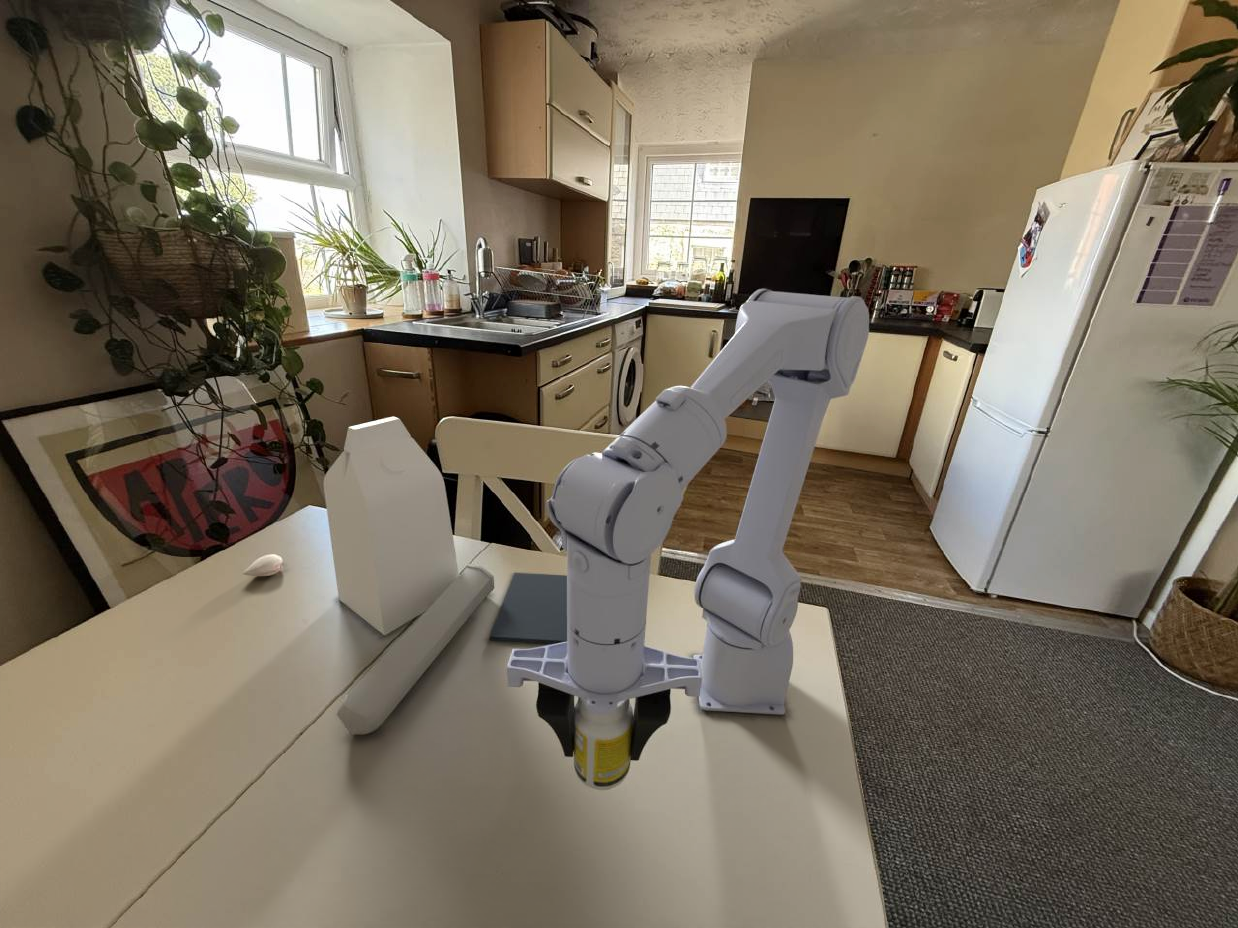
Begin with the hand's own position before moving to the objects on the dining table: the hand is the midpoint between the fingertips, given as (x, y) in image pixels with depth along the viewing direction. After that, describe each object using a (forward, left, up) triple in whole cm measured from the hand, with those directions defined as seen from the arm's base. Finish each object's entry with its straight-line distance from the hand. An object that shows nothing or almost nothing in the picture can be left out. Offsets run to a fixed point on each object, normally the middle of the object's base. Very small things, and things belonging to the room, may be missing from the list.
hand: (601, 747), depth 41 cm
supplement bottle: (0, 0, -2) cm, 2 cm away
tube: (+22, -18, -9) cm, 30 cm away
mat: (+9, -28, -9) cm, 30 cm away
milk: (+31, -29, -9) cm, 43 cm away
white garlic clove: (+53, -32, -9) cm, 62 cm away
